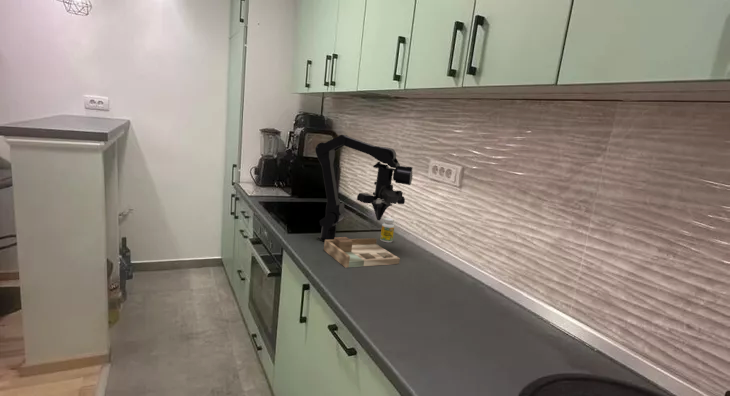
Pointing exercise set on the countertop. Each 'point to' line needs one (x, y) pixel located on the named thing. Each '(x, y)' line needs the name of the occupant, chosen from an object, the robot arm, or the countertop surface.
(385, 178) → the robot arm
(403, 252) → the countertop surface
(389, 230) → the supplement bottle
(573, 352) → the countertop surface
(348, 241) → the walnut block
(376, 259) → the trap board
